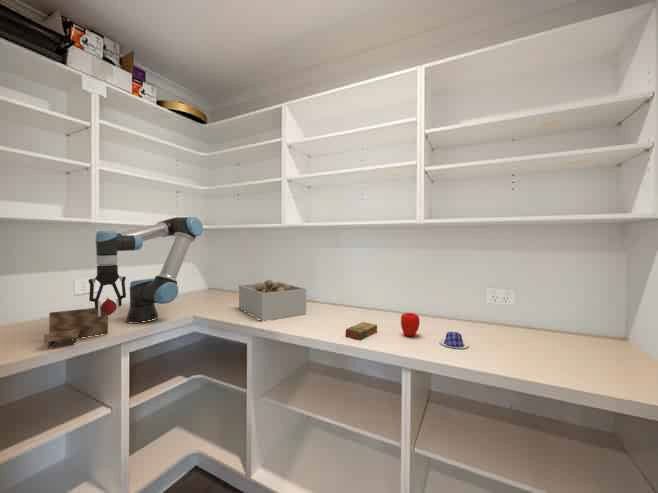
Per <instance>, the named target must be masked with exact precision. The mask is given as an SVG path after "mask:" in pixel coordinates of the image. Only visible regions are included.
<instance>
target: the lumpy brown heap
mask: <svg viewBox="0 0 658 493" xmlns="http://www.w3.org/2000/svg"><path fill="white" fill-rule="evenodd" d="M276 282H277V281H273V280H272V279H267V280H264V281H263V282H256V283H255V284H256V285H255V289H256V290H257V291H259V292H262V290H264V288H265V286H266V288H265V289H266V290H265V293H269V292H276V289H277V292H278V291H288V290H291V287H290V285H291V284H289V285H287V284H288V283H285V284H286V285H284V287H283V288H282V287H279V286H278V284H277V283H276ZM264 284H265V286H264ZM271 288H272V290H271ZM262 293H263V292H262Z"/></svg>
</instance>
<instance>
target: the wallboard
mask: <svg viewBox="0 0 658 493" xmlns="http://www.w3.org/2000/svg"><path fill="white" fill-rule="evenodd" d="M48 316H49V319H48V320H49V322H48V323H49V326H48V328H49V330H48V331H49V332H48V334H49V333H51V332H59V331H66V330H74V329H80V332H79V335H78V338H82V337H88V336H95V335H101V334H107V333H108V334H109V315H106V314H104V313H103V312H102V311H101V316H99V317H98V309H95V307H91V308H83V309H82V308H81V309H72V310H62V311H61V310H60V311H53V312H49V313H48ZM95 337H96V336H95ZM88 338H89V337H88ZM72 339H73V338H72ZM72 339H65V340H58V341H55V343H60V342H59V341H61V342H66V341H67V340H68V341H73V340H72ZM82 339H83V338H82Z"/></svg>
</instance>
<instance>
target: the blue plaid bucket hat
mask: <svg viewBox="0 0 658 493" xmlns="http://www.w3.org/2000/svg"><path fill="white" fill-rule="evenodd" d="M439 344H440V345H442V346H445V347H447V348H452V349H467V348H469V347H470V345H469V344H468V343H467V342H465V341H464V340H463V337H462V334H461V333H460V332H457V331H447V332H446V335H445V338H443V339H440V340H439Z"/></svg>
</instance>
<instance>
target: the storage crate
mask: <svg viewBox="0 0 658 493" xmlns="http://www.w3.org/2000/svg"><path fill="white" fill-rule="evenodd" d="M275 282H276V283H277V284H278V286H279V287H282V288H283V287H284V285H286V284H287V285H290V287H291V290H288V291H278V292H277V289H276V292H269V293H265V290H266V289H265V288H266V286H265V284H264V286H265V288H264V290H262V292H263V293H262V292H259V291H257V290H256V289H255V285H256V284H257V283H250V284H249V283H247V284H239V285H238V309H239V308H240V309H242V310H243V311H245V312H247V313H249V314H251V315H253V316H254V317H256V318H258V319H260V320H261V321H265V322H268V321H267V320H271V321H275V320H274V319H277V320H282V319H281V318H283V319H288V318H287V317H289V318H293V317H294V316H295V317H299V316H300V315H301V316H305V315H307V288H305V287H300V286H296V285H292V284H288V283H285V282H280V281H275ZM271 290H272V288H271ZM240 309H239V310H240ZM243 311H242V312H243ZM245 312H244V313H245ZM247 313H246V314H247ZM249 314H248V315H249ZM254 317H253V318H254ZM256 318H255V319H256ZM258 319H257V320H258ZM261 321H260V322H261Z"/></svg>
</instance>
